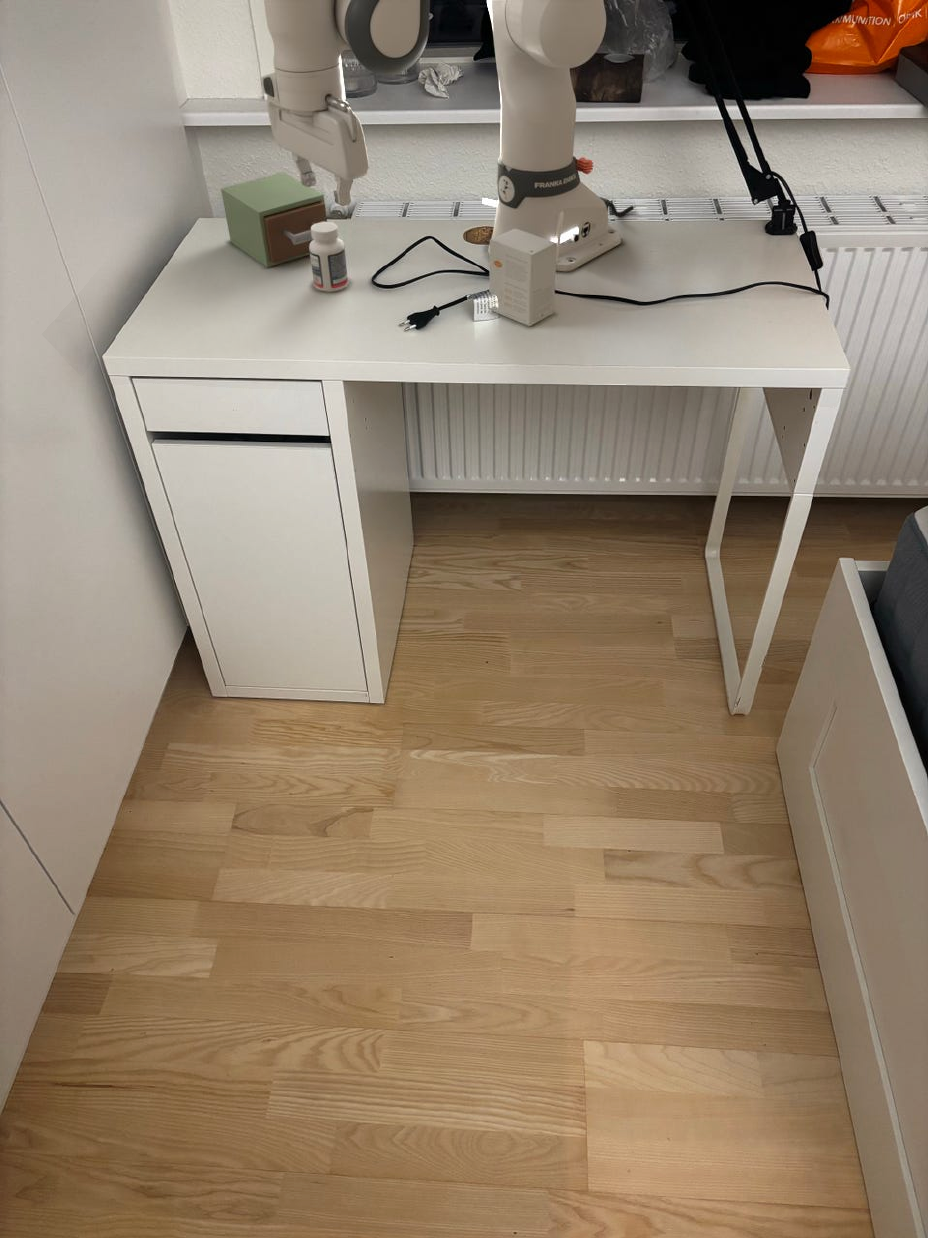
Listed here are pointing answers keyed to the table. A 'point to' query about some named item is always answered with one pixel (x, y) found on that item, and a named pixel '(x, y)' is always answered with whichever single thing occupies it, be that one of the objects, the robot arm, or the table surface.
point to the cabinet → (262, 210)
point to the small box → (523, 275)
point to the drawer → (292, 230)
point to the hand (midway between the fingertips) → (325, 194)
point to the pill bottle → (328, 258)
